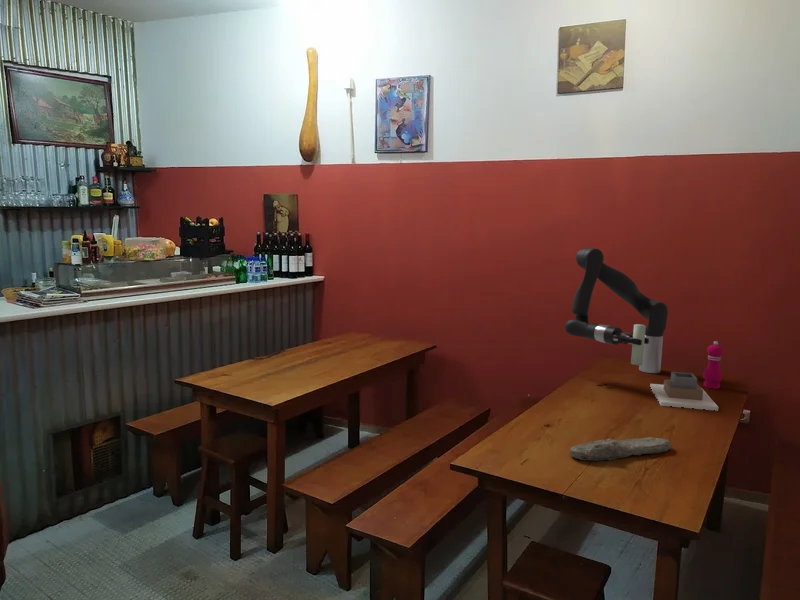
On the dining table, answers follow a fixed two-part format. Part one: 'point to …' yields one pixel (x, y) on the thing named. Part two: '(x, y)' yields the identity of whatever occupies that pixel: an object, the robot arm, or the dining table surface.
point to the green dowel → (638, 349)
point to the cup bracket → (683, 392)
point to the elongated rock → (618, 448)
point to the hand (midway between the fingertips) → (644, 341)
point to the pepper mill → (713, 367)
